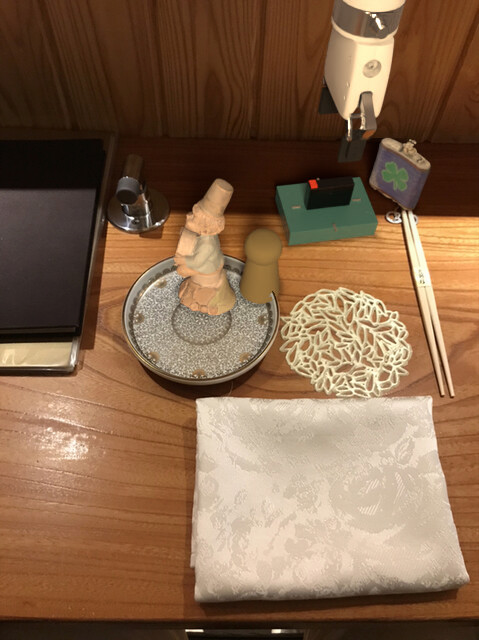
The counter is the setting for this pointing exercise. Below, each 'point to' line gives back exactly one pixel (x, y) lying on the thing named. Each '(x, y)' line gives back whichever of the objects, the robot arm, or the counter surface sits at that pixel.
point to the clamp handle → (328, 193)
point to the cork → (261, 266)
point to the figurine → (205, 254)
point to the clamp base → (324, 216)
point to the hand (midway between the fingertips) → (338, 135)
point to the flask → (399, 172)
